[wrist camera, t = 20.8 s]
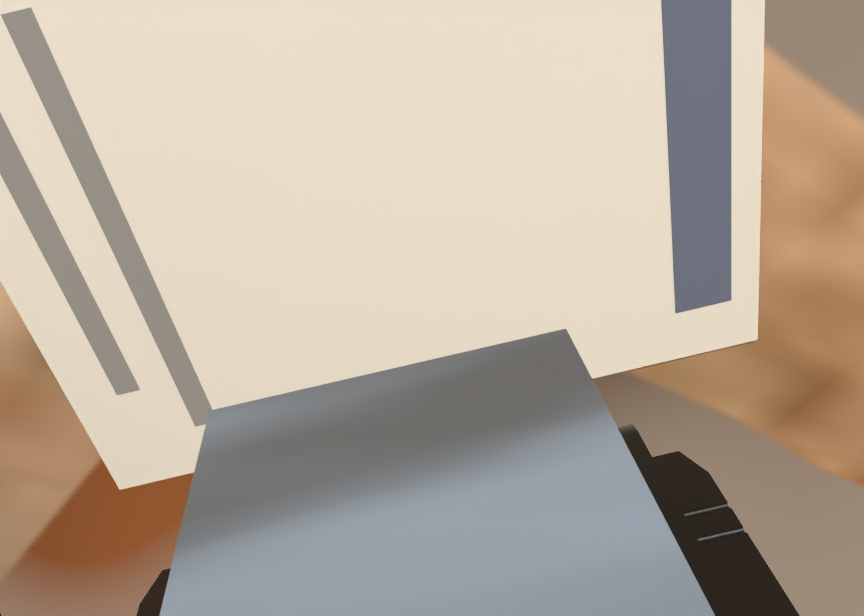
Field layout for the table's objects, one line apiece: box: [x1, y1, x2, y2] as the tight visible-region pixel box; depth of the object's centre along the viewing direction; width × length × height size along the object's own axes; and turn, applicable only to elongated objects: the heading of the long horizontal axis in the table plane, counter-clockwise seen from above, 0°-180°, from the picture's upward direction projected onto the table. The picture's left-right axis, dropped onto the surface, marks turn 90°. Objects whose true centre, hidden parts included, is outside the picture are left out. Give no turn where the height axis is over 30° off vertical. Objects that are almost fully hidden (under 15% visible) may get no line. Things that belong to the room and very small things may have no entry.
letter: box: [0, 0, 765, 490], centre depth 23 cm, size 18×24×1 cm
